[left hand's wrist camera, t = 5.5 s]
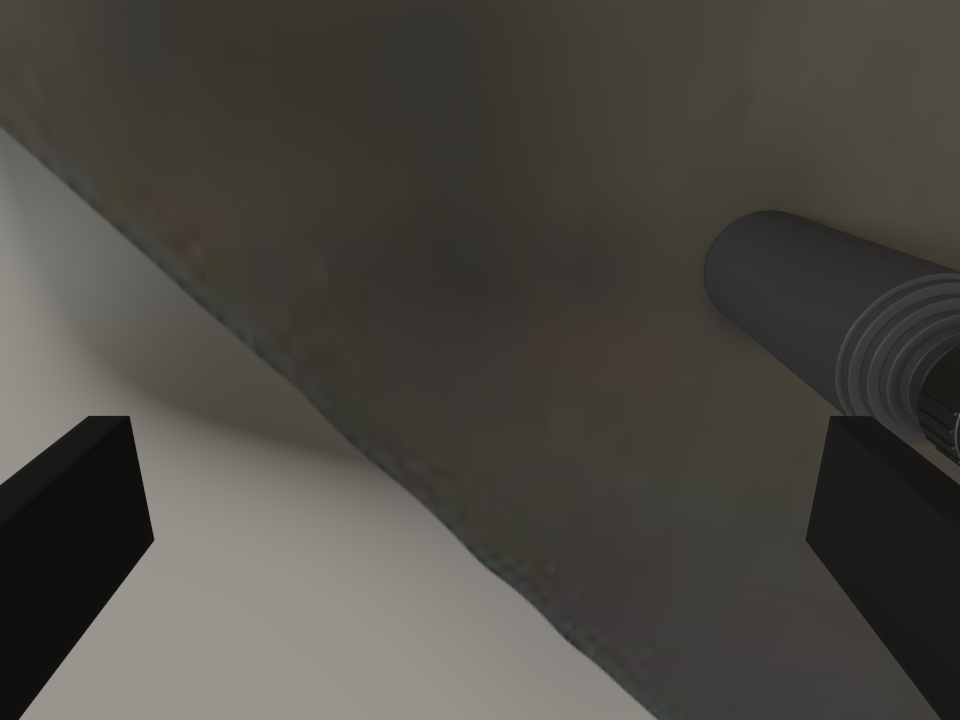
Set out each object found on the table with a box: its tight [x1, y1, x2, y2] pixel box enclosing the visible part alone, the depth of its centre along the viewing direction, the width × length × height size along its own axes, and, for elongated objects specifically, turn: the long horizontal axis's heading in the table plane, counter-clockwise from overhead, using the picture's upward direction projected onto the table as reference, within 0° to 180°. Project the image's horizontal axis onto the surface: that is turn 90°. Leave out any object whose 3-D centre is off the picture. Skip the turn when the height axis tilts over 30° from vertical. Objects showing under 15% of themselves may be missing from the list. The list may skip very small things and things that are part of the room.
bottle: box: [704, 211, 960, 444], centre depth 30 cm, size 7×7×21 cm
